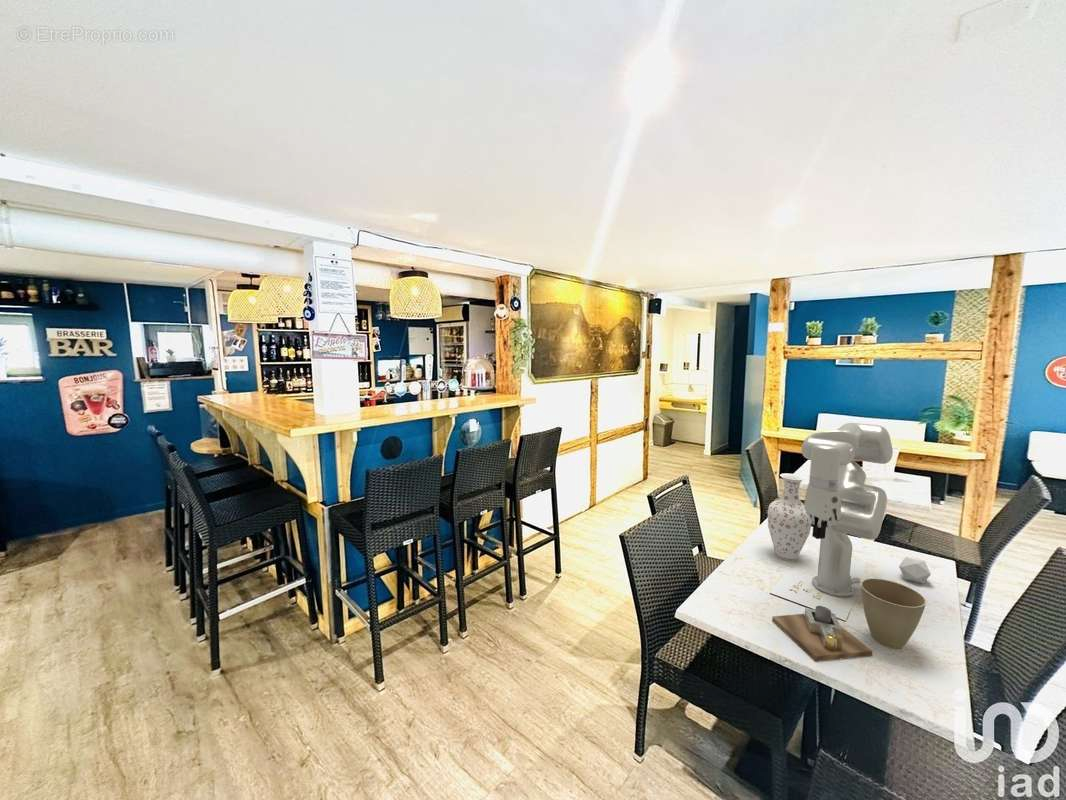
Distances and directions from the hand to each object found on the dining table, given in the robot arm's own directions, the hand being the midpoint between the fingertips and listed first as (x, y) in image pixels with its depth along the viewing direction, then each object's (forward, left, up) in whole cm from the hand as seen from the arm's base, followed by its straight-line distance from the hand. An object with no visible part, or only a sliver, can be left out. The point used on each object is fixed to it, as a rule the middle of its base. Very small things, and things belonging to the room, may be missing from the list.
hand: (818, 537), depth 137 cm
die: (-55, -15, -27) cm, 63 cm away
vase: (-20, -38, -27) cm, 51 cm away
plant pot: (-13, +14, -27) cm, 33 cm away
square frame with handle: (+5, +11, -25) cm, 28 cm away
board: (+6, +10, -27) cm, 30 cm away
